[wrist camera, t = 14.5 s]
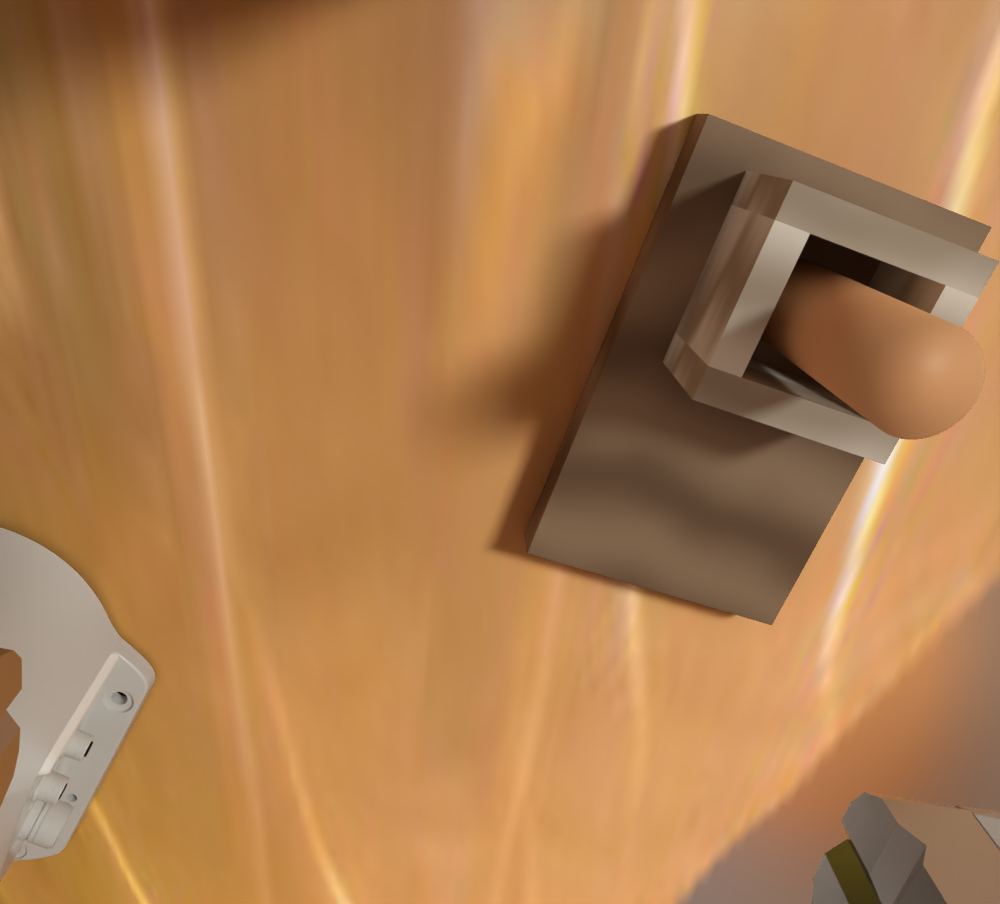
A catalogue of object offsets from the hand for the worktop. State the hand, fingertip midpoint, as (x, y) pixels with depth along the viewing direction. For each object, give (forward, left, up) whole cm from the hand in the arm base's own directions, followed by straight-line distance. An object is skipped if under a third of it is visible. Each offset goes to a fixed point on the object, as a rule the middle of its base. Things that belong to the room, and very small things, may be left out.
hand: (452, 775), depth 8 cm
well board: (-2, -15, -33) cm, 36 cm away
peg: (+3, -15, -31) cm, 35 cm away
